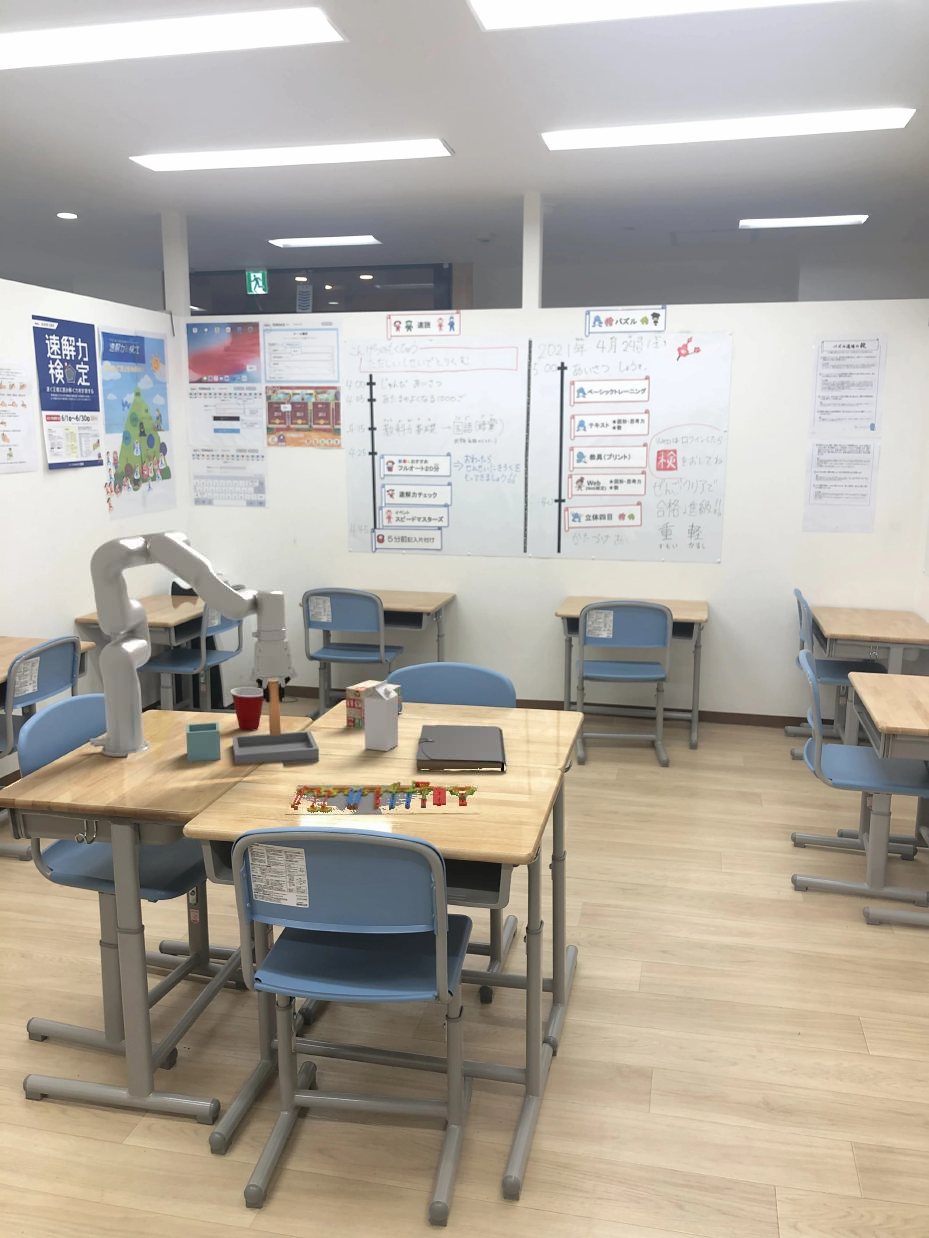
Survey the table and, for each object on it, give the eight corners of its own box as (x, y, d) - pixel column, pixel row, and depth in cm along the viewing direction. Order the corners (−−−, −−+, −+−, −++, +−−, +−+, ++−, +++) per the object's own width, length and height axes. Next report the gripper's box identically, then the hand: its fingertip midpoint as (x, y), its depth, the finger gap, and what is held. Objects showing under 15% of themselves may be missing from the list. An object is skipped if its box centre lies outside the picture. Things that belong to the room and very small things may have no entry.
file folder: (421, 723, 275) (502, 725, 275) (421, 737, 276) (502, 738, 276) (415, 757, 242) (506, 759, 242) (414, 772, 243) (506, 774, 243)
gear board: (477, 778, 232) (480, 806, 213) (477, 787, 232) (479, 816, 213) (297, 778, 231) (284, 806, 212) (298, 787, 231) (284, 816, 212)
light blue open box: (187, 765, 247) (186, 733, 245) (187, 755, 255) (186, 724, 253) (220, 762, 249) (219, 730, 248) (219, 753, 257) (218, 722, 256)
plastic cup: (263, 733, 277) (262, 694, 275) (227, 733, 277) (226, 694, 275) (271, 723, 288) (270, 686, 286) (237, 723, 288) (235, 685, 286)
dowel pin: (270, 736, 253) (268, 683, 251) (269, 733, 256) (267, 680, 254) (281, 735, 254) (279, 682, 252) (280, 732, 257) (278, 680, 255)
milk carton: (364, 749, 262) (363, 684, 259) (376, 742, 268) (375, 678, 265) (387, 752, 259) (386, 686, 256) (398, 745, 266) (397, 680, 263)
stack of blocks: (387, 710, 304) (386, 674, 302) (402, 713, 301) (402, 676, 299) (346, 725, 286) (345, 687, 284) (362, 728, 283) (361, 689, 281)
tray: (235, 768, 245) (235, 755, 244) (232, 748, 262) (232, 736, 261) (318, 761, 251) (318, 748, 250) (310, 742, 268) (310, 730, 267)
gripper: (241, 639, 245) (244, 706, 248) (303, 636, 250) (305, 702, 253) (240, 634, 252) (242, 700, 255) (300, 631, 257) (302, 695, 260)
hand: (274, 700), depth 254 cm, fingers closed on dowel pin, 3 cm apart
